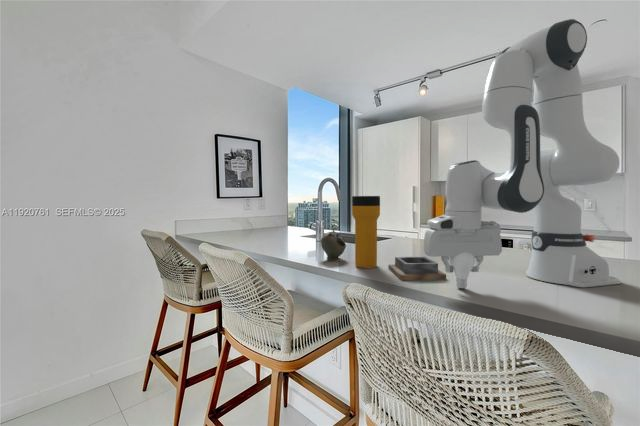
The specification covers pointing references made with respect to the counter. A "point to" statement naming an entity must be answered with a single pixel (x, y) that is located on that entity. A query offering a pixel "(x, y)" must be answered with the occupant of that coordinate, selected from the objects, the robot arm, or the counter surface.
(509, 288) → the counter surface
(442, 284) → the counter surface
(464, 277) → the lightbulb
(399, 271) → the socket base
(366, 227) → the flashlight
